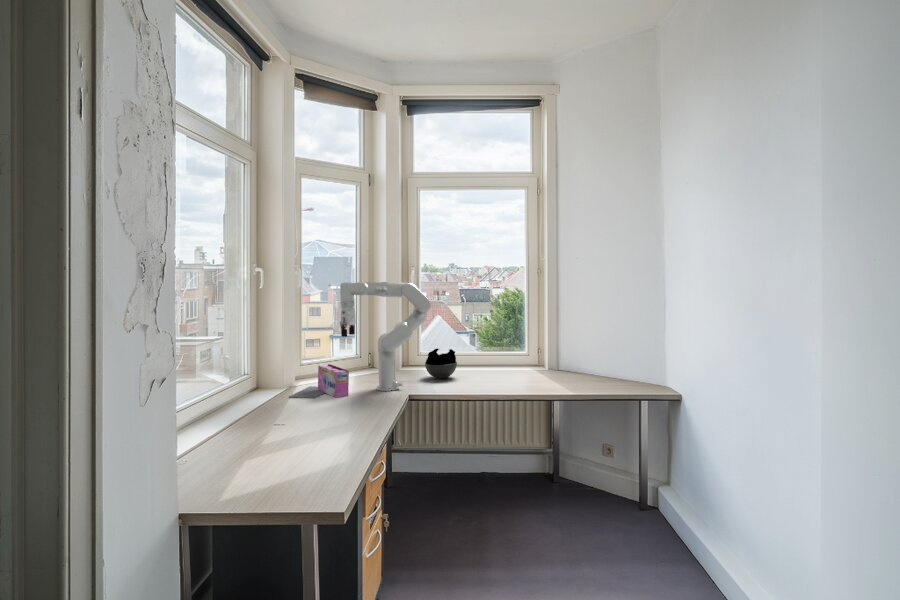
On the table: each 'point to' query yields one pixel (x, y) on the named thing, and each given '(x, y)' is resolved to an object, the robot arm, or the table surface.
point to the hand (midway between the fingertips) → (348, 335)
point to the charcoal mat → (308, 393)
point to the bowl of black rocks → (441, 364)
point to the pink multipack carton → (333, 380)
